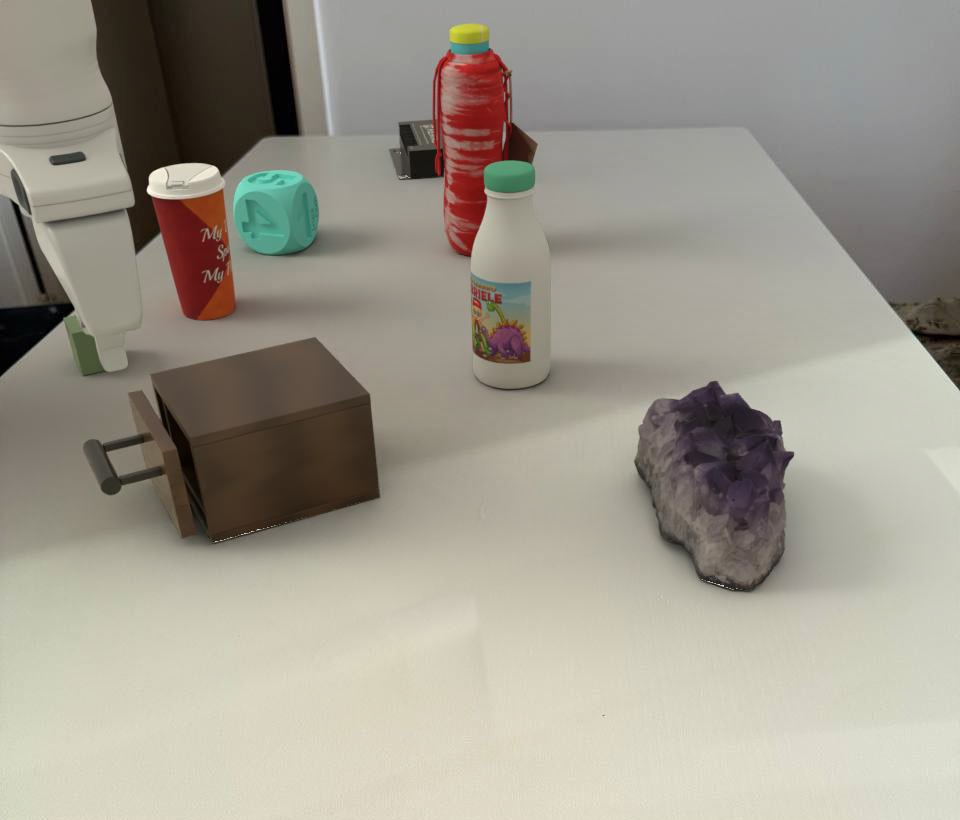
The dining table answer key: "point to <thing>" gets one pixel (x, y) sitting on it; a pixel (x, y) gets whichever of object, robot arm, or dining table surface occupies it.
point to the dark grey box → (417, 150)
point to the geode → (717, 483)
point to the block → (83, 347)
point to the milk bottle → (510, 283)
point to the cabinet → (272, 435)
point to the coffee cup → (195, 237)
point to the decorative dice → (276, 212)
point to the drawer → (152, 462)
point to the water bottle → (472, 129)
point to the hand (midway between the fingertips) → (104, 348)
